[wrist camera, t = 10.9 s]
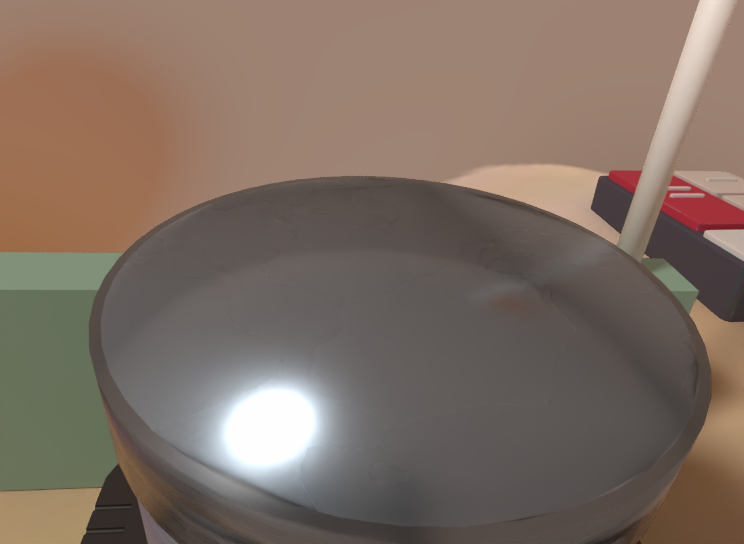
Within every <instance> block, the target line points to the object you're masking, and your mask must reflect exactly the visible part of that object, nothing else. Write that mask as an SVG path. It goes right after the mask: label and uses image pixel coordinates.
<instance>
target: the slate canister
mask: <svg viewBox="0 0 744 544" xmlns="http://www.w3.org/2000/svg"><path fill="white" fill-rule="evenodd" d="M89 351H90V355H91V359H92V363H93V367H94V371H95V375H96V379H97V383H98V387H99V391H100V395H101V399H102V403H103V407H104V411H105V415H106V419H107V423H108V427H109V431H110V435H111V439H112V442H113V446H114V450H115V454H116V457H117V461H118V463H119V465H120V467H121V469H122V471H123V473H124V475H125V477H126V479H127V481H128V483H129V485H130V487H131V489H132V491H133V493H134V495H135V496H136V497H137V499H138V504H139V508H140V512H141V516H142V521H143V525H144V529H145V534H146V538H147V542H148V544H636V543H637V542H638V541H639V540H640V539H641V537H642V536H643V535H644V534H645V533H646V532H647V530H648V528H649V526H650V525H651V523H652V521H653V519H654V517H655V516H656V514H657V512H658V510H659V509H660V507H661V505H662V503H663V501H664V500H665V498H666V496H667V494H668V492H669V490H670V488H671V486H672V484H673V482H674V481H675V479H676V477H677V475H678V473H679V471H680V469H681V467H682V465H683V463H684V461H685V460H686V458H687V456H688V454H689V452H690V450H691V448H692V446H693V444H694V442H695V440H696V439H697V437H698V435H699V433H700V431H701V429H702V427H703V425H704V422H705V418H706V415H707V411H708V407H709V403H710V400H711V368H710V364H709V360H708V356H707V352H706V347H705V344H704V342H703V340H702V338H701V336H700V334H699V332H698V329H697V327H696V325H695V323H694V321H693V320H692V318H691V317H690V316H689V314H688V313H687V311H686V310H685V308H684V307H683V305H682V304H681V302H680V301H679V300H678V299H677V298H676V297H675V295H674V294H673V293H672V292H671V291H670V290H669V289H668V288H667V287H666V286H665V284H664V283H663V282H662V281H661V280H660V279H658V278H657V277H656V276H655V275H654V274H653V273H652V272H650V271H649V270H648V269H647V268H646V267H645V266H644V265H642V264H641V263H640V262H638V261H637V260H636V259H634V258H633V257H631V256H630V255H629V254H627V253H626V252H625V251H623V250H622V249H620V248H619V247H617V246H615V245H614V244H612V243H611V242H609V241H607V240H606V239H604V238H602V237H601V236H599V235H597V234H595V233H593V232H591V231H589V230H587V229H586V228H584V227H582V226H580V225H578V224H576V223H574V222H571V221H569V220H567V219H565V218H562V217H560V216H558V215H555V214H553V213H551V212H548V211H545V210H543V209H540V208H537V207H534V206H532V205H529V204H526V203H523V202H520V201H517V200H513V199H510V198H507V197H504V196H500V195H496V194H492V193H488V192H484V191H480V190H476V189H472V188H467V187H462V186H457V185H452V184H446V183H439V182H431V181H425V180H416V179H406V178H394V177H375V176H342V177H320V178H310V179H300V180H292V181H285V182H279V183H272V184H268V185H263V186H258V187H253V188H249V189H245V190H242V191H238V192H234V193H231V194H227V195H224V196H221V197H218V198H215V199H212V200H209V201H207V202H204V203H201V204H199V205H197V206H194V207H192V208H190V209H188V210H186V211H184V212H182V213H179V214H177V215H175V216H173V217H172V218H170V219H168V220H167V221H165V222H163V223H161V224H160V225H158V226H156V227H155V228H153V229H152V230H151V231H149V232H148V233H147V234H146V235H144V236H142V237H141V238H140V239H139V240H137V241H136V242H135V243H134V244H133V245H132V246H131V247H130V248H129V249H128V250H127V251H125V252H124V253H123V254H122V255H121V256H120V257H119V258H118V260H117V261H116V262H115V264H114V265H113V266H112V268H111V269H110V270H109V272H108V273H107V274H106V276H105V277H104V279H103V281H102V283H101V286H100V288H99V290H98V292H97V294H96V296H95V298H94V302H93V306H92V310H91V314H90V319H89Z"/></svg>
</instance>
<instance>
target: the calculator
mask: <svg viewBox="0 0 744 544" xmlns="http://www.w3.org/2000/svg"><path fill="white" fill-rule="evenodd" d="M641 173H642V171H610V173H609V176H600V177H599V179H598V183H597V187H596V190H595V194H594V198H593V202H592V206H591V209H592V210H593V211H594V212H595V213H596V214H597V215H599V216H600V217H601V218H602V219H603V220H605V221H606V222H607V223H608V224H609V225H610V226H612V227H613V228H614V229H615V230H616V231H618V232H619V233H620V234H621V232H622V229H623V226H624V223H625V220H626V217H627V214H628V211H629V208H630V205H631V203H632V200H633V197H634V194H635V191H636V188H637V185H638V182H639V179H640V176H641ZM645 254H646V255H648V256H649V257H650V258H663V259H665V260H666V261H667V262H668V263H669V264H670V265H671V266H672V267H673V268H674V269H675V270H677V271H678V272H679V273H680V274H681V275H682V276H683V277H684V278H685V279H686V280H688V281H689V282H690V283H691V284H692V285H693V286H694V287H695V288H696V289H697V290H699V293H698V295H697V298H696V299H698V300H699V301H700V302H701V303H702V304H704V305H705V306H706V307H707V308H708V309H709V310H711V311H712V312H713V313H714V314H715V315H717V316H718V317H719V318H720V319H722V320H725V321H728V322H743V321H744V179H742V178H739V177H737V176H735V175H733V174H730V173H728V172H724V171H674V174H673V177H672V179H671V182H670V185H669V188H668V190H667V193H666V196H665V198H664V201H663V204H662V207H661V209H660V212H659V215H658V217H657V220H656V223H655V226H654V228H653V231H652V234H651V236H650V239H649V242H648V244H647V247H646V250H645Z"/></svg>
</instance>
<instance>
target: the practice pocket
mask: <svg viewBox="0 0 744 544" xmlns="http://www.w3.org/2000/svg"><path fill="white" fill-rule="evenodd" d="M737 1H738V0H700V1H699V4H698V7H697V10H696V13H695V16H694V19H693V22H692V25H691V28H690V31H689V34H688V37H687V40H686V43H685V46H684V48H683V51H682V54H681V57H680V60H679V63H678V66H677V69H676V72H675V75H674V78H673V81H672V84H671V87H670V90H669V93H668V96H667V99H666V102H665V105H664V108H663V111H662V114H661V117H660V120H659V123H658V125H657V128H656V132H655V134H654V137H653V140H652V143H651V146H650V149H649V152H648V155H647V158H646V161H645V164H644V167H643V170H642V173H641V176H640V179H639V182H638V185H637V188H636V191H635V194H634V197H633V200H632V203H631V205H630V208H629V211H628V214H627V217H626V220H625V223H624V226H623V229H622V232H621V235H620V238H619V241H618V244H617V247H619V248H620V249H622V250H623V251H625V252H626V253H627V254H629V255H630V256H631V257H633V258H634V259H636V260H637V261H638V262H640V263H641V264H642V265H644V266H645V267H646V268H647V269H648V270H649V271H650V272H652V273H653V274H654V275H655V276H656V277H657V278H658V279H660V280H661V281H662V282H663V283H664V284H665V286H666V287H667V288H668V289H669V290H670V291H671V292H672V293H673V294H674V295H675V297H676V298H677V299H678V300H679V301H680V302H681V304H682V305H683V307H684V308H685V310H686V311H687V313H688V314H689V313H690V311H691V309H692V307H693V304H694V302H695V300H696V298H697V295H698V293H699V290H697V289H696V288H695V287H694V286H693V285H692V284H691V283H690V282H689V281H688V280H686V279H685V278H684V277H683V276H682V275H681V274H680V273H679V272H678V271H677V270H675V269H674V268H673V267H672V266H671V265H670V264H669V263H668V262H667V261H666V260H665V259H663V258H643V255H644V253H645V250H646V247H647V244H648V242H649V239H650V236H651V234H652V231H653V228H654V226H655V223H656V220H657V217H658V215H659V212H660V209H661V207H662V204H663V201H664V198H665V196H666V193H667V190H668V188H669V185H670V182H671V179H672V177H673V174H674V171H675V169H676V166H677V163H678V161H679V158H680V155H681V152H682V150H683V147H684V144H685V142H686V139H687V136H688V133H689V131H690V128H691V125H692V123H693V120H694V117H695V114H696V112H697V109H698V106H699V104H700V101H701V98H702V95H703V93H704V90H705V87H706V85H707V82H708V79H709V77H710V74H711V71H712V69H713V66H714V63H715V60H716V58H717V55H718V52H719V50H720V47H721V44H722V41H723V39H724V36H725V33H726V31H727V28H728V25H729V22H730V20H731V17H732V14H733V12H734V9H735V6H736V3H737ZM122 254H123V253H40V252H33V253H32V252H0V491H13V490H39V489H65V488H91V487H102V486H103V484H104V481H105V479H106V477H107V476H108V474H109V473H110V472H111V471H112V470H113V469H114V468H115V466H116V465H117V464H118V461H117V457H116V454H115V450H114V446H113V442H112V439H111V435H110V431H109V427H108V423H107V419H106V415H105V411H104V407H103V403H102V399H101V395H100V391H99V387H98V383H97V379H96V375H95V371H94V367H93V363H92V359H91V355H90V351H89V319H90V314H91V310H92V306H93V302H94V298H95V296H96V294H97V292H98V290H99V288H100V286H101V283H102V281H103V279H104V277H105V276H106V274H107V273H108V272H109V270H110V269H111V268H112V266H113V265H114V264H115V262H116V261H117V260H118V258H119V257H120V256H121V255H122Z"/></svg>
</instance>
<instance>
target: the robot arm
mask: <svg viewBox="0 0 744 544" xmlns="http://www.w3.org/2000/svg"><path fill="white" fill-rule="evenodd" d="M81 544H148V542H147V538H146V534H145V529H144V525H143V521H142V516H141V512H140V508H139V504H138V499H137V497H136V496H135V495H134V493H133V491H132V489H131V487H130V485H129V483H128V481H127V479H126V477H125V475H124V473H123V471H122V469H121V467H120V465H119V463H118V464H117V465H116V466H115V468H114V469H113V470H112V471H111V472H110V473H109V474H108V476H107V477H106V479H105V481H104V484H103V486H102V489H101V492H100V494H99V497H98V499H97V502H96V505H95V511H93V513H92V515H91V518H90V520H89V523H88V526H87V528H86V534H85V535H84V536H83V539H82V541H81ZM636 544H641V542H640V541H638V542H637V543H636Z"/></svg>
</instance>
